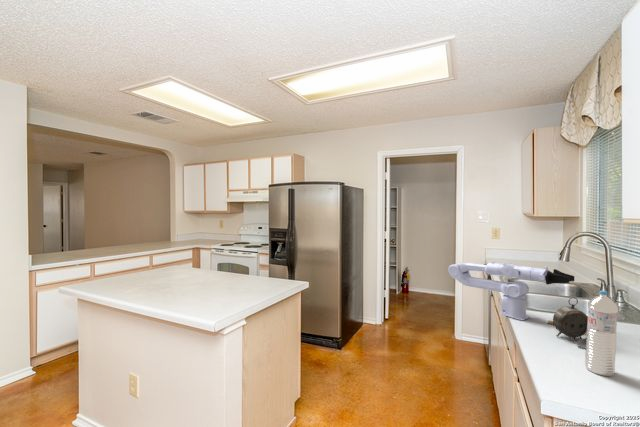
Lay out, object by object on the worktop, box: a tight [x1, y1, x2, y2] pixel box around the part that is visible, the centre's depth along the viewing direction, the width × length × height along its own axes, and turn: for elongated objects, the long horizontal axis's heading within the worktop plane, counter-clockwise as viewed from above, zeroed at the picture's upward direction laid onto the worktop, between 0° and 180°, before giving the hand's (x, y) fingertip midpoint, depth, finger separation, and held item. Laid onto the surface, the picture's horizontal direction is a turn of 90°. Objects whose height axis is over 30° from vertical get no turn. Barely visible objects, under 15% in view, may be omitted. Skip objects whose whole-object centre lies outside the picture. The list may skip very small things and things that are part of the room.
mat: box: [577, 337, 586, 351], centre depth 113 cm, size 8×14×1 cm, turn 128°
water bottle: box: [584, 290, 619, 377], centre depth 95 cm, size 7×7×25 cm
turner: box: [547, 320, 587, 336], centre depth 129 cm, size 14×4×1 cm, turn 38°
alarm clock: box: [552, 296, 588, 342], centre depth 118 cm, size 11×5×16 cm, turn 84°
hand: (571, 279), depth 125 cm, fingers open, 7 cm apart
